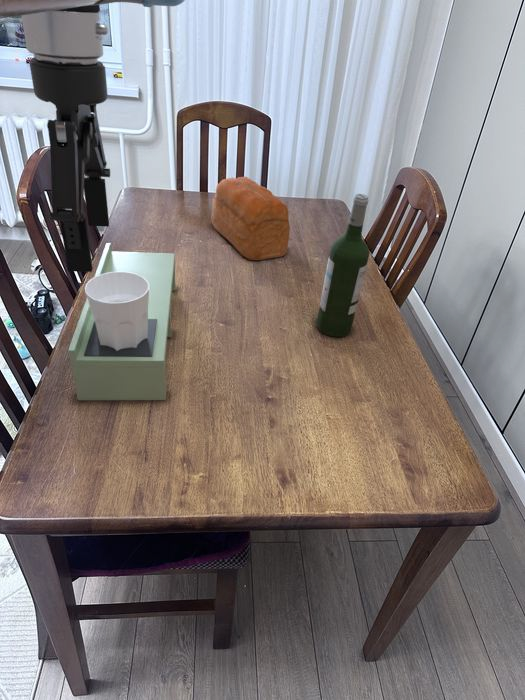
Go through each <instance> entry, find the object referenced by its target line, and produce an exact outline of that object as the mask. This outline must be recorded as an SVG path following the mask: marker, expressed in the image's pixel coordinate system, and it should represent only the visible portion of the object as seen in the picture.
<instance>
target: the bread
mask: <svg viewBox="0 0 525 700" xmlns="http://www.w3.org/2000/svg"><path fill="white" fill-rule="evenodd" d="M210 219H211V222H212V226H213V229H215V230H216V231H217V232H218V233H219V234H220V235H221V236H222V237H224V238H225V239H226V240H227V241H228V242H229V243H230V244H231V245H232V246H233V247H234V248H235V249H236V250H237V252H238V253H240V254H241V256H243V257H244V258H246V259H248V260H249V261H262V260H263V261H264V260H269V259H274V258H280V257H284V256H285V255H286V254H287V253H288V246H289V239H290V232H291V227H290V220H289V209H288V206H287V205H286V204H285V203H283V201H281V200H280V199H279V198H278V197H277V196H276V195H274V194H273V192H272V191H270V190H269V189H268V188H266V187H265V186H262V185H260V184H258V183H257V182H256V181H254V180H253V179H250V178H249V177H248V176H238V177H236V178H235V177H229V178H224V179H222V180H220V182H219V183H218V184H217V185H216V188H215V195H214V197H213V198H212V208H211V216H210Z"/></svg>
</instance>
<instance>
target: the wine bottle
mask: <svg viewBox="0 0 525 700" xmlns="http://www.w3.org/2000/svg"><path fill="white" fill-rule="evenodd" d="M368 203H369V196H368V195H367V194H364V193H356V194H355V195H354V197H353V200H352V206H351V210H350V215H349V218H348V223H347V227H346V231H345V233H344V235H342V236H341V237H339V238H337V239H336V240H334V241H333V242H332V243H331V246H330V249H329V254H328V260H327V265H326V271H325V274H324V275H325V276H324V280H323V286H322V290H321V291H322V292H321V295H320V301H319V307H318V311H317V317H316V318H317V319H316V328H317V329H318V330H319V331H320V332H321V333H323V334H325V335H326V336H329V337H334V338H342V337H345V336H348V335H349V334H350V333H351V331H352V327H353V323H354V319H355V316H356V311H357V306H358V303H359V299H360V295H361V290H362V286H363V282H364V278H365V274H366V270H367V266H368V262H369V257H370V250H369V246H368V245H367V243H366V242H365V241H364V239H363V236H362V233H363V227H364V222H365V216H366V212H367V206H368Z"/></svg>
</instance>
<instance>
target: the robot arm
mask: <svg viewBox="0 0 525 700" xmlns="http://www.w3.org/2000/svg"><path fill="white" fill-rule="evenodd" d="M185 1H186V0H0V20H1V19H8V18H14V17H20V16H21V22H22V23H21V24H22V27H23V28H22V29H23V34H24V41H25V48H26V50H27V51H28V52H29V53H30V54H33V57H31V59H30V60H29V62H28V63H29V69H30V76H31V80H32V81H31V82H32V87H33V93H34V95H35V97H36V98H37V99H39V100H41V102H42V101H43V102H46V103H51V104H53V105H54V106H55V109H56V110H55V117H56V118H55V119H54V118H53V119H48V120H47V124H46V126H47V131H48V138H49V149H50V150H49V151H50V153H49V154H50V175H51V176H50V177H51V180H50V181H51V202H52V205H51V206H52V209H51V210H52V212H51V211H50V212H49V213H50V214H49V215H50V220H51V221H54V222H59V223H60V229H61V235H62V242H63V249H64V255H65V260H66V261H65V262H66V268H67V272H81V273H82V272H84V273H85V272H86V273H92V272H93V269H94V267H93V260H92V252H91V251H92V250H91V243H90V236H89V235H90V234H89V229H88V227H104V228H105V227H107V228H108V227H109V226H110V218H109V207H108V198H107V189H106V179H105V178H111V168H107V165H108V164H107V163H108V162H107V161H106V154H105V149H104V144H103V139H102V134H101V129H100V124H99V119H98V113H97V111H98V110H97V105H99V104H102V103H104V102H106V101H107V100H108V97H109V95H108V84H107V73H106V66H105V65H104V63H103V62H101V61H99V59H100V58H102V57H104V45H103V36H107V34H109V29H108V27H107V25H106V24H105V23H100V20H101V13H100V11H101V7H100V6H101V5H107V4H108V5H109V4H113V3H114V4H115V3H127V4H128V3H129V4H138V5H142V6H143V7H145V8H151V7H152V6H158V7H177V6H179V5H181V4H182V3H185ZM85 176H86V177H85ZM84 201H85V207H86V216H85V213H84Z"/></svg>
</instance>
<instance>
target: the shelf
mask: <svg viewBox="0 0 525 700" xmlns="http://www.w3.org/2000/svg"><path fill="white" fill-rule="evenodd" d="M103 248H104V249H103V251H102V254H101V257H100V260H99V262H98V265H97V268H96V271H95V272H94V273H95V274H94V277H95V276H98V275H100V274H104V273H108V272H130V273H135V274H138V275H140V276H142V277H144V278H145V279H146V280H147V281H148V283H149V302H148V337H147V338H146V339H143V340H142V341H141V342H140V343H139V344H138V345H137V348H133V347H130V348H124V349H120V350H118V351H116V350H115V349H114V348H112V347H109V346H106V345H100V341H99V336H98V332H97V328H96V323H95V320H94V318H93V315H92V312H91V309H90V306H89V302H88V299H87V298H85V302H84V305H83V307H82V310H81V313H80V316H79V318H78V321H77V324H76V327H75V330H74V332H73V336H72V338H71V341H70V344H69V347H68V350H67V352H68V356H69V361H70V368H71V373H72V378H73V382H74V388H75V393H76V398H77V401H166V400H167V380H166V378H167V377H166V355H167V344H168V338H172V334H173V333H172V331H173V330H172V306H171V305H172V304H171V303H172V294H173V291H174V292H175V291H176V290H177V289H176V288H177V285H176V254H175V253H168V252H167V253H166V252H143V251H142V252H141V251H139V252H138V251H115V250H114V251H113V250H112V243H111V242H106V243H105V246H104V247H103ZM94 277H93V278H94Z"/></svg>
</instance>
